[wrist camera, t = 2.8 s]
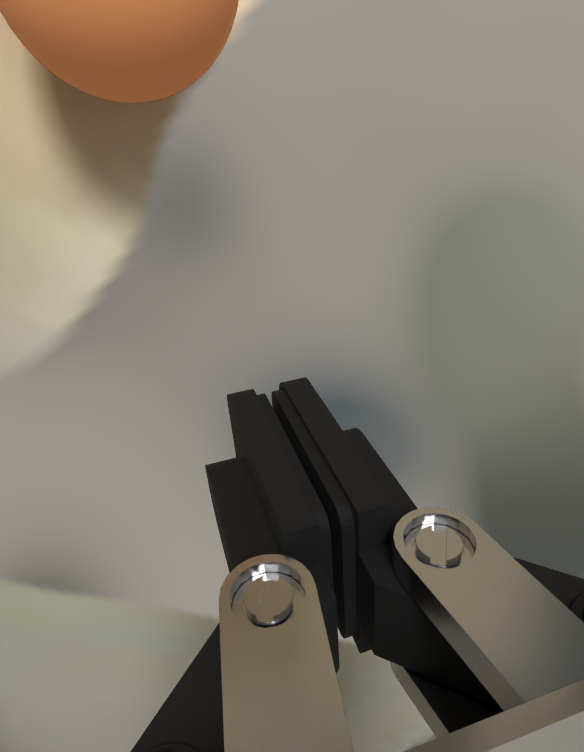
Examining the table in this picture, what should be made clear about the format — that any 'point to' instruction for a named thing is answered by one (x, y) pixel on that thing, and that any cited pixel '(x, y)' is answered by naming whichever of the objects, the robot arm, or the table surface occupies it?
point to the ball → (123, 42)
